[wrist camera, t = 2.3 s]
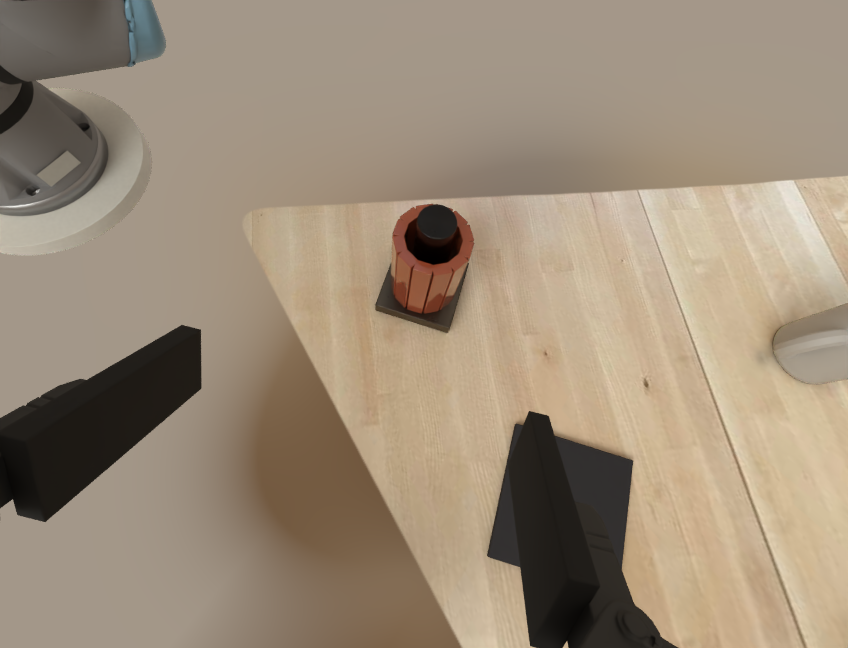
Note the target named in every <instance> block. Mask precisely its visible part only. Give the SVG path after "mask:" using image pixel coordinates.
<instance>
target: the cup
mask: <svg viewBox="0 0 848 648" xmlns="http://www.w3.org/2000/svg"><path fill="white" fill-rule="evenodd" d="M773 350H774V354H775V357H776V358H777V360H778V362H779V364H780V365H781V367H782V368H783V369H784V370H785V371H786V372H787V373H788V374H789V375H790V376H792V377H794V378H796V379H797V380H800V381H802V382H805V383H809V384H824V383H830V382H835V381H841V380H847V379H848V303H846V304H843V305H840V306H838V307H835V308H832V309H829V310H826V311H823V312H820V313H817V314H814V315H811V316H808V317H805V318H802V319H800V320H797V321H794V322H791V323H789V324H786V325H784V326H783V327H781V328H780V329H779V330H778V332H777V333H776V335H775V337H774V340H773Z"/></svg>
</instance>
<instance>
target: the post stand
mask: <svg viewBox="0 0 848 648" xmlns="http://www.w3.org/2000/svg"><path fill="white" fill-rule="evenodd" d="M456 229H457V218H456V216H455V214H454V213H453V212H452V211H451V210H450V209H449V208H447V207H445V206H443V205H429V206H427V207H425V208H424V209H422V210H421V211H420V213H419V215H418V218H417V224H416V232H415V239H414V246H413V253H412V255H413V256H414V257H415V258H416V259H417V260H420V261H423V262H426V263H429V264H432V265H435V264H441V263H446V261H447V258H448V254H449V251H450V248H451V245H452V242H453V238H454V235H455V232H456ZM468 265H469V263H468V264H467V266H466V268H465V271H464V273H463V275H462V278H461V280H460V282H459V285H458V287H457V290H456V292H455V294H454V297H453V299H452V300H451V302H450V303H448V304H447V305H446V306H445V307H444V308H443V309H441V310H440V309H439V311H436V312H431V313H426V314H424V313H423V311H422V314H421V313H417V312H414V311H411V310H408V309H407V307H406V308H405V307H404V306H403V305H402V304H401V303H400V302H399V301H398V300H397V299H396V298H395V295H393V290H392V286H391V264H390V267H389V270H388V272H387V275H386V278H385V281H384V283H383V286H382V289H381V291H380V294H379V297H378V299H377V302H376V310H377V311H380V312H383V313H386V314H389V315H393V316H396V317H399V318H402V319H405V320H408V321H412V322H415V323H418V324H421V325H424V326H427V327H430V328H434V329H437V330H440V331H443V332H446V333H448V331H449V329H450V326H451V323H452V319H453V316H454V312H455V309H456V305H457V302H458V299H459V295H460V292H461V288H462V285H463V282H464V278H465V275H466V271H467V268H468Z"/></svg>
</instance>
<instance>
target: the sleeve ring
mask: <svg viewBox="0 0 848 648" xmlns="http://www.w3.org/2000/svg"><path fill="white" fill-rule="evenodd" d="M429 205H433V204H427V205H420V206H416V209H415V208H414V207H413V208H411V209H410V210H409V211H407V212H406V213H404V214H403V215H402V216H400V219H398V221H397V224H396V226H395V229H394V231H393V237H392V262H391V286H392V290H393V295H395V298H396V299H397V300H398V301H399V302H400V303H401V304H402V305H403V306H404V307H405V308H406V307H407V309H408V310H411V311H414V312H417V313H421V314H422V311H423V313H424V314H426V313H431V312H436V311H439V309H440V310H441V309H443V308H444V307H445V306H446V305H447V304H448V303H450V302H451V300H452V299H453V297H454V294H455V292H456V290H457V287H458V285H459V282H460V280H461V278H462V275H463V273H464V271H465V268H466V266H467V264H468V261H469V259H470V256H471V252H472V249H473V246H474V242H473V241H474V238H473V235H472V232H471V229H470V225H467V223H468V222H467V221H466V220H465V219H464V218H463V217H462V216H461V215H460V214H458V213H457V212H456V211H454V212H453V209H451V208H449V209H450V210H451V211H452V212H453V213H454V214H455V216H456V218H457V229H456V232H455V235H454V238H453V242H452V245H451V248H450V251H449V254H448V258H447V261H446V263H441V264H435V265H432V264H429V263H426V262H423V261H420V260H417V259H416V258H415V257H414V256H413V255H412V253H413V246H414V239H415V232H416V224H417V218H418V215H419V213H420V211H421V210H422V209H424V208H425V207H427V206H429ZM436 205H438V204H436Z"/></svg>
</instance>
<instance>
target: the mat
mask: <svg viewBox="0 0 848 648" xmlns="http://www.w3.org/2000/svg"><path fill="white" fill-rule="evenodd" d="M522 428H523V426H522V425H519V424H515V427H514V432H513V437H512V441H511V446H510V451H509V455H508V460H507V465H506V470H505V474H504V479H503V484H502V488H501V493H500V498H499V503H498V507H497V512H496V517H495V521H494V526H493V531H492V536H491V540H490V545H489V550H488V554H487V556H488V557H490V558H493V559H496V560H499V561H503V562H506V563H509V564H512V565H515V566H518V567H520V560H519V552H518V543H517V535H516V527H515V519H514V511H513V503H512V495H511V487H510V479H509V471H508V463H509V461H510V458H511V455H512V453H513V450H514V448H515V445H516V443H517V440H518V438H519V435H520V433H521V430H522ZM555 439H556V442H557V445H558V449H559V452H560V455H561V459H562V462H563V465H564V468H565V472H566V475H567V478H568V482H569V485H570V488H571V491H572V495H573V498H574V501H575V502H579V503H583V504H587V505H591V506H593V508H594V509H595V510H596V512H597V513H598V514H599V516H600V517H601V518H602V520H603V521H604V524H605V526H606V529H607V532H608V534H609V540H611V543H612V545H613V548H614V553H616V556H617V559H618V562H619V564H620V567H621V570H622V560H623V551H624V541H625V532H626V522H627V513H628V503H629V494H630V485H631V475H632V466H633V461H632V460H629V459H626V458H623V457H620V456H617V455H614V454H611V453H607V452H604V451H601V450H598V449H595V448H592V447H589V446H585V445H582V444H579V443H576V442H573V441H570V440H567V439H563V438H560V437H557V436H555Z"/></svg>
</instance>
